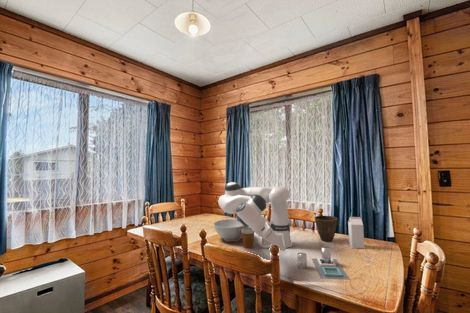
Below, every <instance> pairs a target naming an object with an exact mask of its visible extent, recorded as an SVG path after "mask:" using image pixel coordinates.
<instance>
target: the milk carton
mask: <svg viewBox="0 0 470 313" xmlns="http://www.w3.org/2000/svg"><path fill="white" fill-rule="evenodd" d="M347 225H348V228H347V229H348V244H349V246H350V247H351V248H352V249H365V238H364V237H365V235H364V224H363V220H362V216H349V217H348V221H347Z"/></svg>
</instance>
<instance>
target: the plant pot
mask: <svg viewBox="0 0 470 313" xmlns="http://www.w3.org/2000/svg"><path fill="white" fill-rule="evenodd" d="M314 220H315V226H316V229H317V232H318V235H319V238H320V240H321V242H324V243H332V242H333V241H334V239H335V234H336V230H337V225H338V218H337V217H336V216H330V215H317V216H315V217H314Z"/></svg>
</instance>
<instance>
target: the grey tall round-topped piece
mask: <svg viewBox="0 0 470 313" xmlns="http://www.w3.org/2000/svg"><path fill="white" fill-rule="evenodd" d="M320 251H321V252H320V253H321V254H320V255H321V259H322V264H331V259H332V256H331V254H332V253H331V247H328V246H321V248H320Z"/></svg>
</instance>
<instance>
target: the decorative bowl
mask: <svg viewBox="0 0 470 313" xmlns="http://www.w3.org/2000/svg"><path fill="white" fill-rule="evenodd" d="M213 227H214V230H215V231H216V233H217V235H218V236H219V237H220V238H222V239H223V241H225V240H226V241H225V242H228V241H234V242H238V241H241V239H242V238H243V237H242V232H241V230H242V228H245V227H244V226H243V225H242V224H241V223H240V222H239V221H237V218H228V219H221V220H217V221H215V222H214V223H213Z"/></svg>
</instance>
